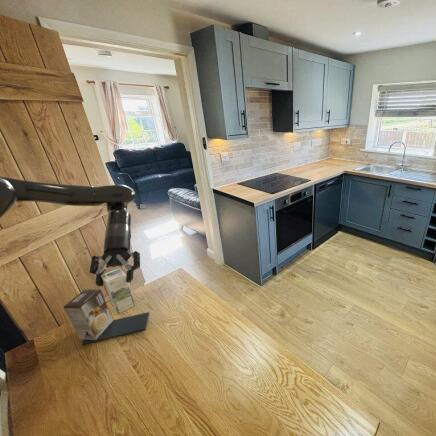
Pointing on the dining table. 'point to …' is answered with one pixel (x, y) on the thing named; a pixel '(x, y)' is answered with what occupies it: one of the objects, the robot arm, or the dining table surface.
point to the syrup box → (118, 290)
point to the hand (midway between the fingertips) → (114, 284)
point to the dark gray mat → (122, 327)
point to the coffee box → (89, 314)
